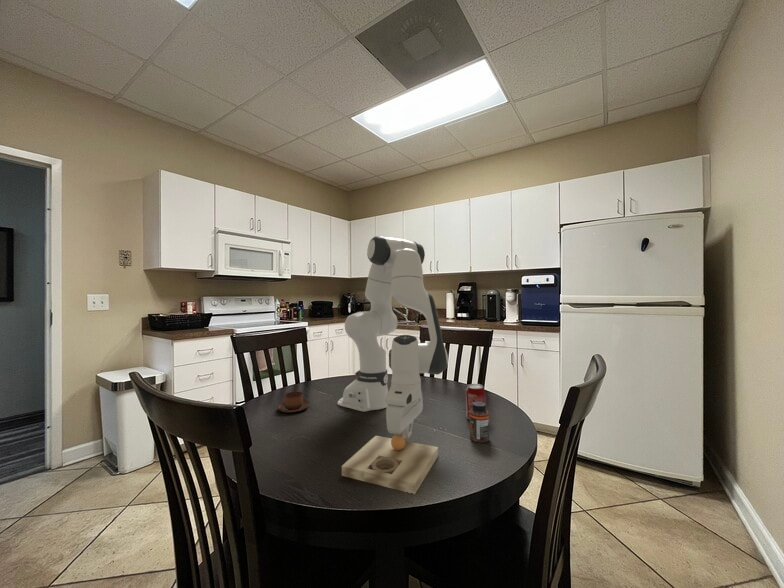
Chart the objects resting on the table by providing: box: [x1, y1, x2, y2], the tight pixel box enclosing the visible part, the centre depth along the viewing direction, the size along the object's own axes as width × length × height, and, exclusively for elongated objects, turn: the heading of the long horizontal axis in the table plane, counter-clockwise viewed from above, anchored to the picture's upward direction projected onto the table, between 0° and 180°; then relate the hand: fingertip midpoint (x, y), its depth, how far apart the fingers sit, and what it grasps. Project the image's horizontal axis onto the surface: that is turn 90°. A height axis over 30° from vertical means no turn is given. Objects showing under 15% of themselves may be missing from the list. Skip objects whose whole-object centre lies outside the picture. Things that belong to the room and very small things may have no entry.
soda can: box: [465, 383, 486, 420], centre depth 119 cm, size 7×7×12 cm
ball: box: [391, 434, 406, 450], centre depth 92 cm, size 4×4×4 cm
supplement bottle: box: [469, 402, 490, 444], centre depth 103 cm, size 6×6×11 cm
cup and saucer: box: [277, 391, 310, 413], centre depth 133 cm, size 12×12×6 cm
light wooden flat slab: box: [341, 435, 439, 495], centre depth 89 cm, size 20×19×2 cm
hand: (407, 436), depth 98 cm, fingers closed
